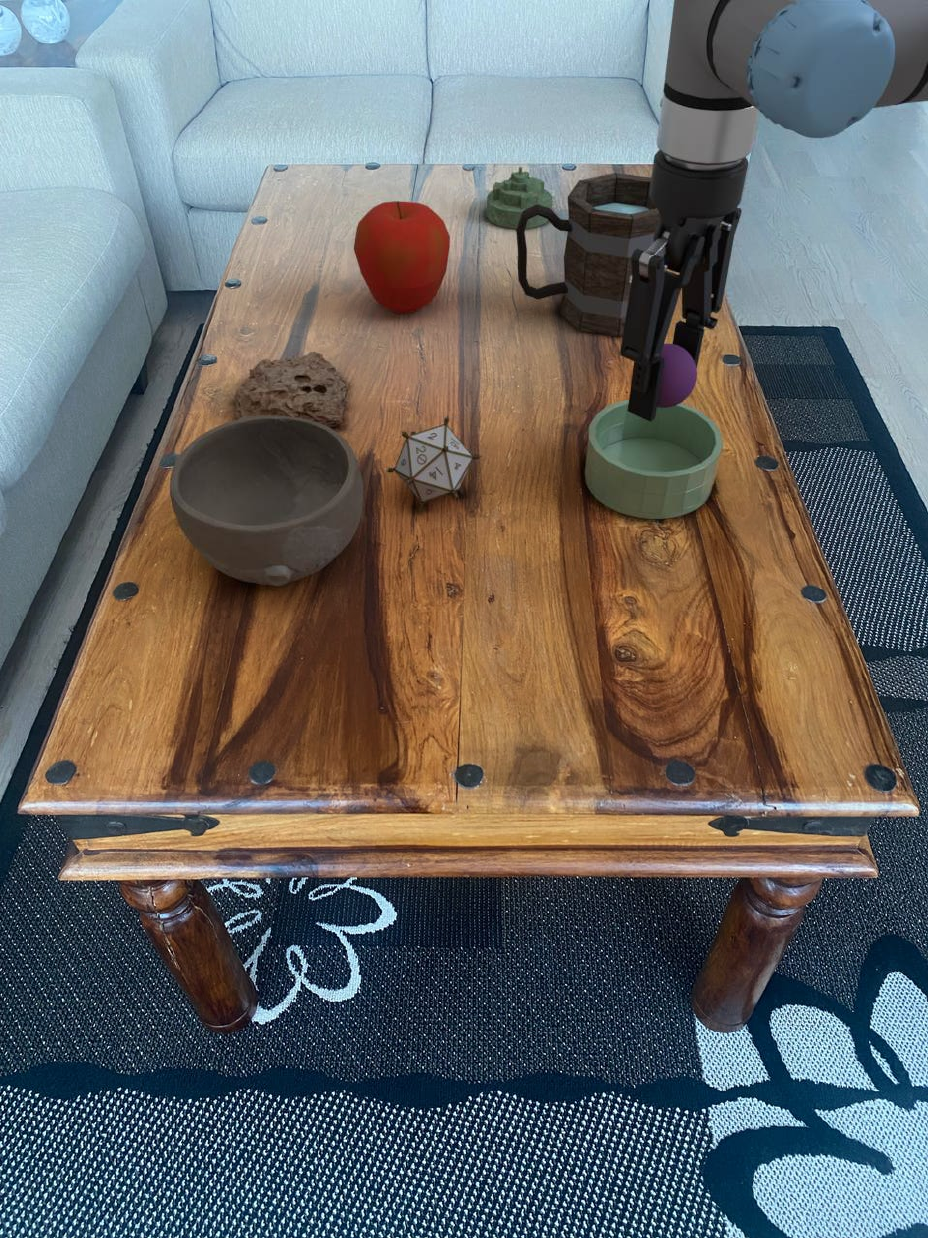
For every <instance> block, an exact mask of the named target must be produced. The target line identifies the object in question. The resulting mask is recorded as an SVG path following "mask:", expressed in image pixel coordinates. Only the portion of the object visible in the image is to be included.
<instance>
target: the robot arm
mask: <svg viewBox="0 0 928 1238" xmlns="http://www.w3.org/2000/svg"><path fill="white" fill-rule="evenodd" d="M669 33H670V34H669V40H668V41H669V42H668V48H667V58H666V65H665V66H666V67H665V73H664V74H665V75H664V84H663V91H662V92H663V95H662V97H661V99H660V103H659V106H660V108H661V109H660V116H659V123H658V129H657V136H656V146H657V148H658V149H659V150H658V151H657V152H656V153H655V154H654V155H653V161H652V162H653V163H652V169H651V177H650V178H651V184H650V191H649V196H650V199H651V201H652V203H653V204H654V205H655V207H656V208H657V210H658V212H659V214H660V219H659V222H658V225H657V228H656V231H655V234H654V243H653V244H652V245H651V246H650V247H649V248H648V249H647V250H646V251H644V250H641V249H639V248H638V249H636V250H635V251H634V252H633V254H632V258H631V264H632V281H631V288H630V294H629V300H628V306H627V312H626V319H625V325H624V331H623V336H621V337H622V338H621V343H620V344H621V345H620V351H619V354H620V356H621V357H623V358H626V359H628V360H631V361H632V362H633V368H632V374H631V382H630V388H629V397H628V400H629V403H628V412H630V413H633V414H635V415H637V416H639V417H641V418H643V419H645V420H648V421H650V422H651V421H652V420H654V419H655V416H656V410H657V404H658V398H659V392H660V386H661V380H662V374H663V368H664V362H665V358H663V357H661V356H660V355H661V351H662V348H663V345H664V344H665V341H666V339H667V335H668V332H669V329H670V326H671V322H672V320H673V316H674V313H675V310H676V307H677V303H678V300H679V297H680V293H681V317H682V319H683V320H685V321H682V320H678V321H677V322H676V323H675V326H674V330H673V331H674V332H673V336H672V337H673V338H672V342H671V344H674V345H678V346H680V347H682V348H684V349H685V350H686V351H687V352H688V353H689V354H690V355H691V356H692V358H693V360H694V362H695V364H696V368H697V369H698V364H699V359H700V354H701V350H702V346H703V345H702V344H703V339H704V335H705V329H706V328H707V329H709V330H711V331H712V330H714V329H715V328H716V326H717V324H718V321H719V320H718V318H716V317H714V316H712V313H715V314H718V313H719V312H721V309H722V306H723V301H724V297H725V296H724V295H725V290H726V285H727V279H728V273H729V268H730V262H731V256H732V251H733V245H734V240H735V234H736V231H737V228H738V225H739V222H740V219H741V217H742V208H741V207H739V206H740V204H741V202H742V199H743V193H744V188H745V184H746V178H747V174H748V169H749V160H748V158H747V157H748V156H749V155H751V153H752V152H753V148H754V142H755V139H756V134H757V133H756V132H757V127H758V122H759V116H760V113H761V114H762V115H763V116H764V118H766V119H767V120H769V121H771V123H773V124H775V125H780V126H781V127H782V128H783V129H785V130H790V131H792V132H794V133H796V134H798V135H800V136H802V137H806V138H810V139H825V138H831V137H835V136H837V135H840V133H842V132H844V131H845V130H846V129H848V128H849V127H851V126H852V125H854V124H855V123H858V122H860V121H861V120H862V119H864V118H865V117H866V116H867V115H868V114H869V113H870V112H871V111H872V110H873V109H879V108H886V107H891V106H899V105H903V104H910V103H911V104H912V103H921V102H922V103H923V102H928V0H673V7H672V16H671V25H670V31H669ZM668 270H669V271H668ZM677 273H679V274H677ZM712 295H713V296H712Z"/></svg>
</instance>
